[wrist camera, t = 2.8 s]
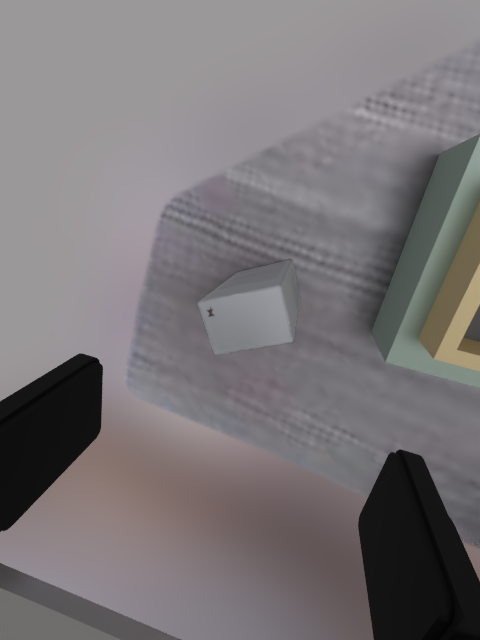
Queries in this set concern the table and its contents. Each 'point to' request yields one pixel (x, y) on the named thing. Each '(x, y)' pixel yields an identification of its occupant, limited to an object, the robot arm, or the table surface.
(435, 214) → the green yellow rimmed box
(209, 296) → the skincare box
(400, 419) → the table surface
